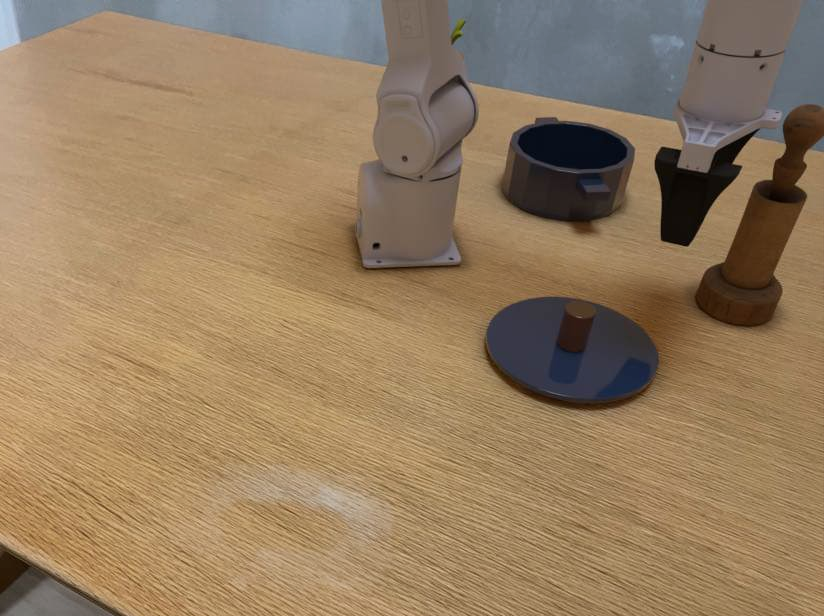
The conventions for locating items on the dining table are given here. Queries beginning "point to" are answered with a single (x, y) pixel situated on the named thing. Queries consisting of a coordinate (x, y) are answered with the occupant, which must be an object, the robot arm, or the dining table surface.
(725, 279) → the mortar and pestle
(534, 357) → the lid
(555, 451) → the dining table surface
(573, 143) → the pot
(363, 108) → the dining table surface
